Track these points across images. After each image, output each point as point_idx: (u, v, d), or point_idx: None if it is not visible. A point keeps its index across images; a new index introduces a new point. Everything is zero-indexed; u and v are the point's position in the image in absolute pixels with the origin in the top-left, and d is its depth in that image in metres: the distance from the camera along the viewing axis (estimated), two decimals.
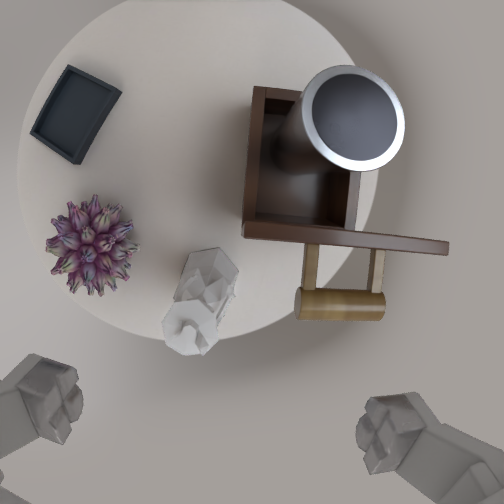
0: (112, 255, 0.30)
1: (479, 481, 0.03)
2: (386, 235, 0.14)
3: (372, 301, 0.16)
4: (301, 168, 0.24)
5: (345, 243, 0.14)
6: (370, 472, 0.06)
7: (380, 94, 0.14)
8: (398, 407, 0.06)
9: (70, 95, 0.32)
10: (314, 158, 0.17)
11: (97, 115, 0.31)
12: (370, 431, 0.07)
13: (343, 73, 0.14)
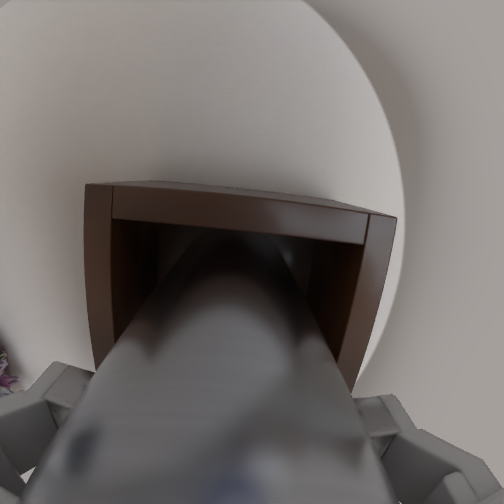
0: None
1: (453, 493, 0.03)
2: None
3: None
4: None
5: None
6: None
7: None
8: (373, 410, 0.06)
9: None
10: None
11: None
12: None
13: None
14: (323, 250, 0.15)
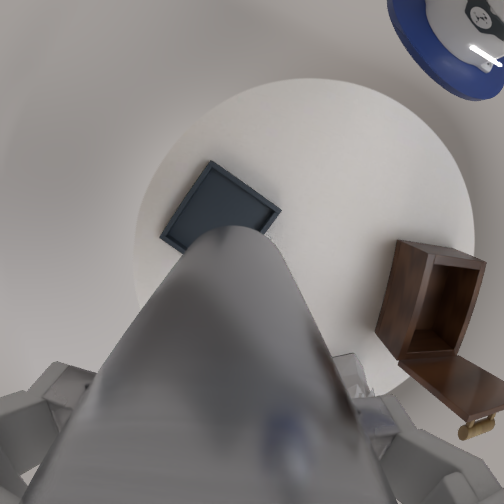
0: None
1: (453, 493, 0.03)
2: None
3: (490, 425, 0.20)
4: None
5: (495, 411, 0.19)
6: None
7: None
8: (373, 410, 0.06)
9: (212, 199, 0.36)
10: None
11: None
12: None
13: None
14: (457, 269, 0.37)
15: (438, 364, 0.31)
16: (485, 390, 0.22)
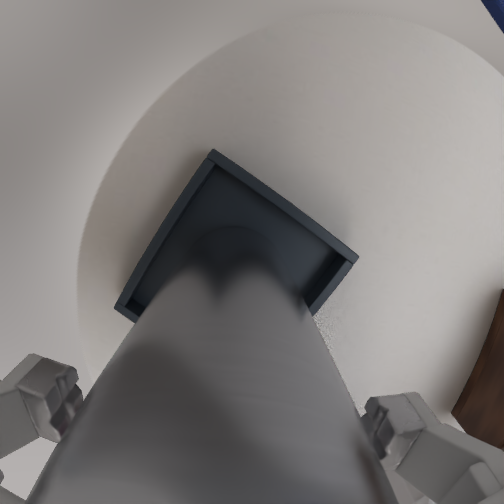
0: None
1: (479, 481, 0.03)
2: None
3: None
4: None
5: None
6: None
7: None
8: (398, 407, 0.06)
9: None
10: None
11: (312, 310, 0.17)
12: (370, 431, 0.07)
13: None
14: None
15: None
16: None
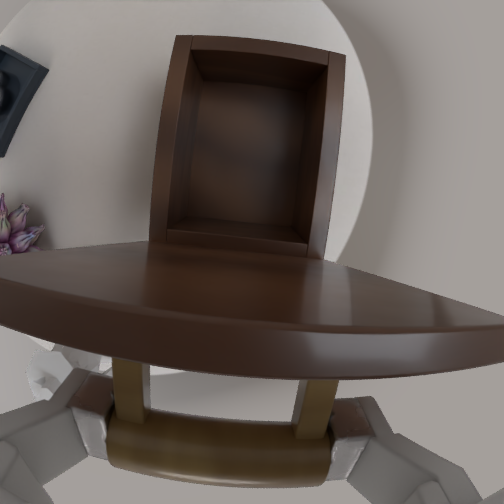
0: None
1: (427, 503, 0.03)
2: (335, 331, 0.04)
3: (292, 464, 0.05)
4: None
5: (155, 358, 0.04)
6: None
7: None
8: (349, 412, 0.06)
9: None
10: None
11: (18, 98, 0.21)
12: None
13: None
14: (310, 101, 0.22)
15: (225, 251, 0.16)
16: (254, 277, 0.07)
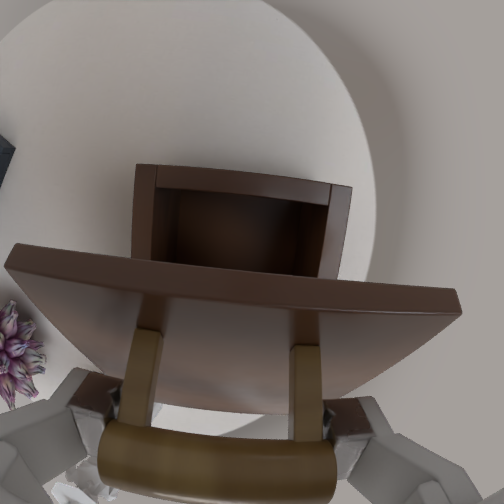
0: (13, 374, 0.19)
1: (427, 503, 0.03)
2: (298, 278, 0.06)
3: (296, 459, 0.05)
4: None
5: (185, 290, 0.06)
6: None
7: None
8: (349, 412, 0.06)
9: None
10: None
11: None
12: None
13: None
14: (305, 218, 0.20)
15: None
16: None
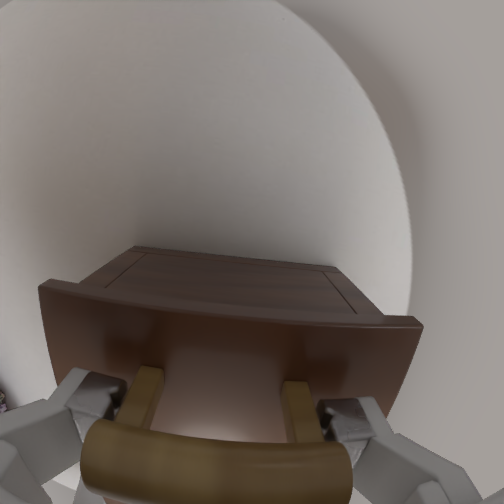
0: None
1: (427, 503, 0.03)
2: (279, 310, 0.08)
3: (301, 446, 0.05)
4: None
5: (193, 309, 0.07)
6: None
7: None
8: (349, 412, 0.06)
9: None
10: None
11: None
12: None
13: None
14: None
15: None
16: None
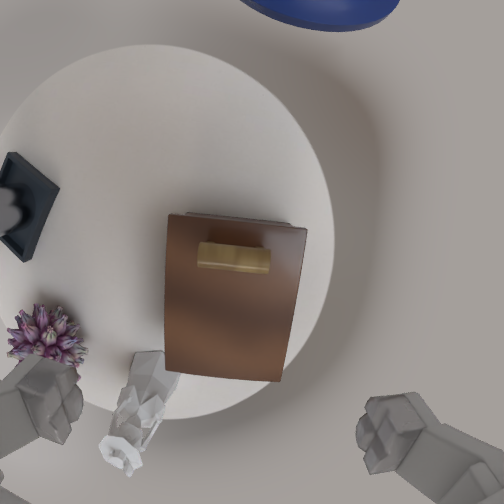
0: None
1: (479, 481, 0.03)
2: (254, 222, 0.25)
3: None
4: None
5: (226, 219, 0.24)
6: (370, 472, 0.06)
7: None
8: (399, 407, 0.06)
9: None
10: None
11: (37, 217, 0.30)
12: (370, 431, 0.07)
13: None
14: None
15: None
16: None
